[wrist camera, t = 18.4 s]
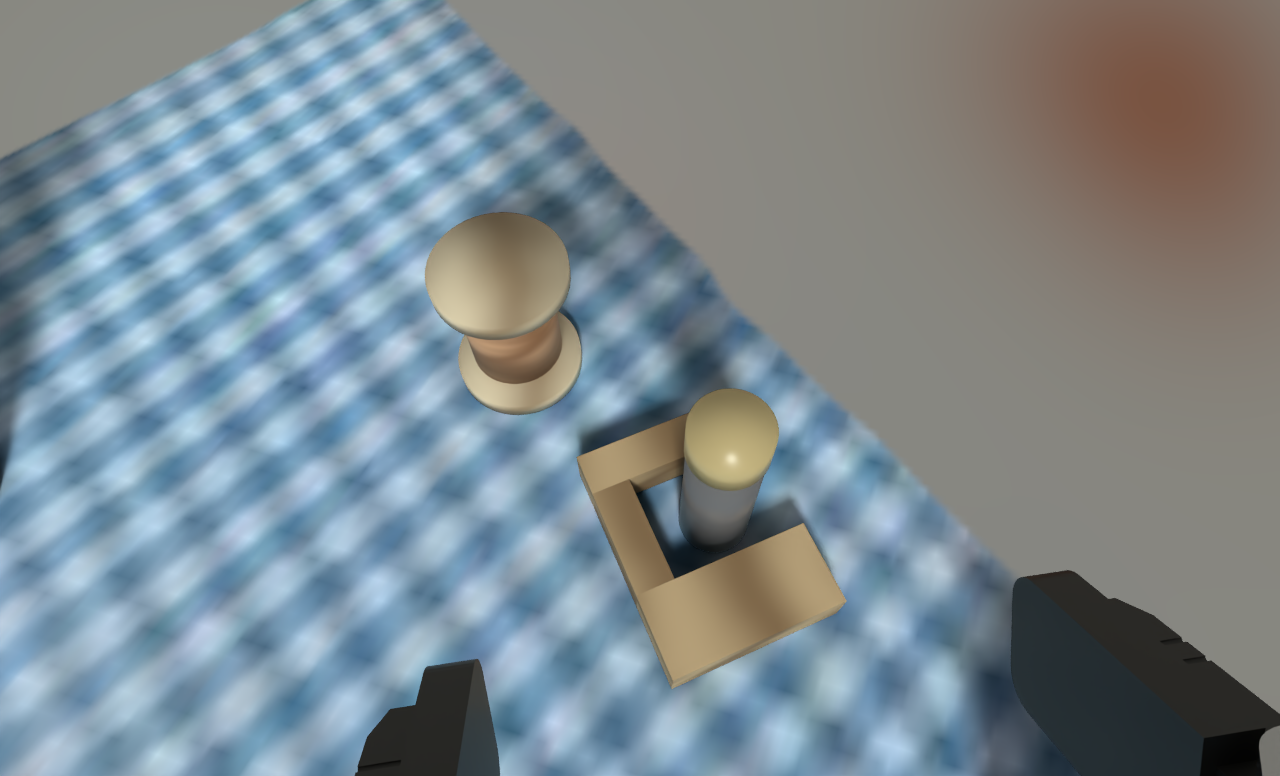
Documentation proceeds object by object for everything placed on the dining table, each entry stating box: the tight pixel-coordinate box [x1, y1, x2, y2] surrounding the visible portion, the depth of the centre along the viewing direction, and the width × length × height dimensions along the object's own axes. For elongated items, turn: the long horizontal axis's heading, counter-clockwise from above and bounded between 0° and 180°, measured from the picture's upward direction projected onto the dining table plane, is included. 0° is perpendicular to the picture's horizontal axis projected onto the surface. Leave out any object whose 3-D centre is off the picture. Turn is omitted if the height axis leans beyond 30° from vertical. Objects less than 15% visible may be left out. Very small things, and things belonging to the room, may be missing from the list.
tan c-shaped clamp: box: [577, 413, 846, 689], centre depth 42 cm, size 9×12×2 cm
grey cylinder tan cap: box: [679, 389, 779, 553], centre depth 38 cm, size 4×4×11 cm
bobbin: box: [425, 212, 582, 415], centre depth 44 cm, size 7×7×9 cm
